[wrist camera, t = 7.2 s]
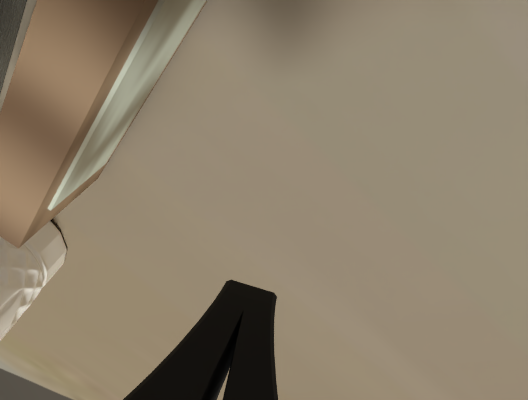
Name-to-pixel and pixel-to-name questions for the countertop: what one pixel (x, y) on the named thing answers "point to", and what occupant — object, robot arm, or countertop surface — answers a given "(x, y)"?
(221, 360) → the robot arm
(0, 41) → the slanted bar
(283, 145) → the countertop surface
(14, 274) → the white cup
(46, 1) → the picture frame
